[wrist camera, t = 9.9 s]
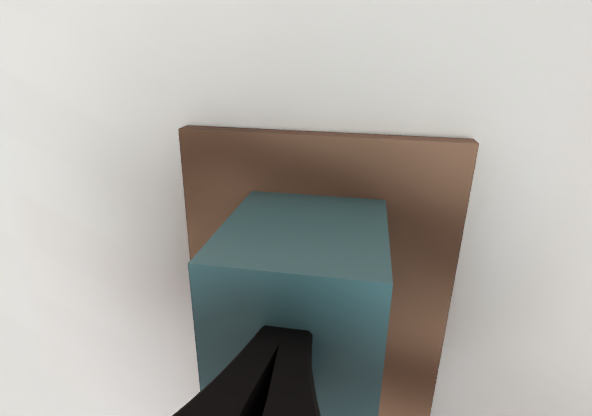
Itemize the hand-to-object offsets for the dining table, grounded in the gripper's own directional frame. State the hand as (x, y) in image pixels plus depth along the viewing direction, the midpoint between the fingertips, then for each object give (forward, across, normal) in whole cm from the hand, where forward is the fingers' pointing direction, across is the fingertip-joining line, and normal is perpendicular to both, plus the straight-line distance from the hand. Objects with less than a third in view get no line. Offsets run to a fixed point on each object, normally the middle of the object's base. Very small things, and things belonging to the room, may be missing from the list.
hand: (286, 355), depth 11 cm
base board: (+7, 0, +4) cm, 8 cm away
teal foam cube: (+6, 0, 0) cm, 6 cm away
